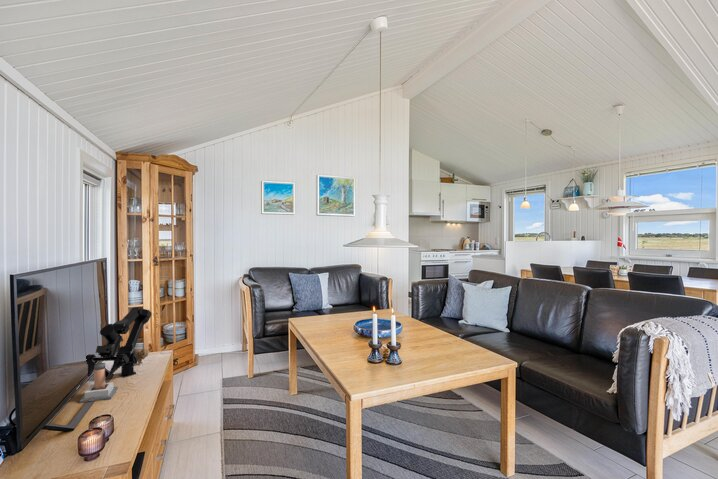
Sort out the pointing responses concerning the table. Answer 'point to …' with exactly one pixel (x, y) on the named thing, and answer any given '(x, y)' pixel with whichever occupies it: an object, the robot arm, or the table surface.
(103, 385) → the peg
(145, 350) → the lion figurine
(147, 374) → the table surface
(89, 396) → the socket block
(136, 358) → the robot arm
